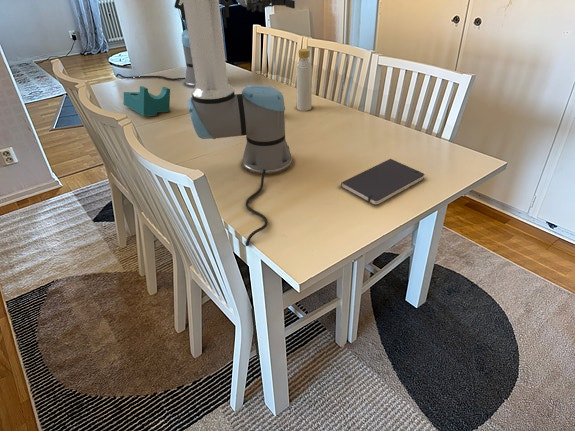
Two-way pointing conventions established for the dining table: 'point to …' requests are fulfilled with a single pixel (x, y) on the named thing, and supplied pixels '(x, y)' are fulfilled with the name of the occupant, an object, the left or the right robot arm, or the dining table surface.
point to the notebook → (382, 181)
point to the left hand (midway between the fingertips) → (278, 6)
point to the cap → (304, 53)
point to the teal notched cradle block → (148, 101)
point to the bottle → (304, 84)
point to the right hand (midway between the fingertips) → (207, 28)
